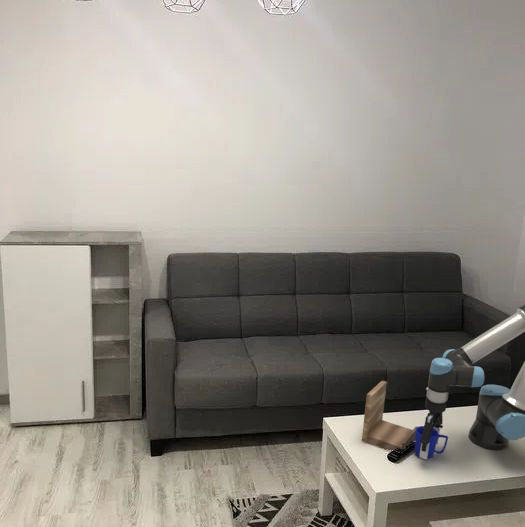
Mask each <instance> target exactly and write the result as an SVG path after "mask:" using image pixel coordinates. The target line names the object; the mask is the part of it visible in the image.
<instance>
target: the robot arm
mask: <svg viewBox="0 0 525 527" xmlns="http://www.w3.org/2000/svg"><path fill="white" fill-rule="evenodd" d="M523 333H525V304H523V305H521V306H519V307H518V308H517V309H516V312H515V313H513V314H512V315H510V316H509V317H507V318H506V319H504V320H502V321H501V322H500V323H498V324H496V325H494V326H493V327H491V328H489V329H488V330H486V331H485V332H483V333H482V334H480V335H479V336H476V338H475V337H474V339H472V340H470V341H469V342H467V343H466V344H465V345H463V346H461V347H459V348H457V349H454V348H453V349H447V350H445V352H444V353H443V355H442V357H435V358H434V359H432V361H431V363H430V368H429V375H428V384H427V387H426V388H425V390H426V397H425V403H424V408H425V409H426V410H427V411H428V413H427V415H426V416H425V422H424V425H423V426H424V428H423V432H422V436H421V440H419V441H420V443H421V449H420V456H418V457H419V458H420V459H423V460H428V459H427V456H428V449H429V440H430V437H431V434H432V430H433V429H435V430H436V431H437V432H438V434H441V433H440V431H441V429H443V427H444V425H443V418H444V416H443V413H444V412H446V409H447V403H448V398H449V391H450V387H464V388H465V387H466V388H480V387H481V388H480V391H479V393H478V394H479V395H478V402H477V409H476V416H475V420H474V421H473V424H472V425H471V427H470V429H469V430H468V439H469V440H470V441H471V442H472V443H473V444H475V445H477V446H479V447H480V448H484V449H488V450H492V451H493V450H495V451H498V450H499V451H500V450H504V449H507V447H508V446H509V440H510V441H516V440H520V439H523V438H525V361H524V362H523V364H522V366H521V368H520V369H519V372H518V373H517V375H516V378H515V380H514V381H513V384H512V386H511V388H508V387H506V386H503V385H497V384H486V385H484V384H485V383H484V382H485V372H484V370H483V368H482V367H480V366H477V365H476V366H475V365H474V366H473V364H475V363H476V362H478V361H479V360H481V359H483V358H484V357H486V356H487V355H489V354H491V353H492V352H494V351H496V350H497V349H499V348H501V347H502V346H505V344H507V343H509V342H510V341H512V340H514V339H515V338H517V337H519V336H520V335H522V334H523ZM439 438H440V437H439ZM439 438H438V440H437V442H436V445H438V444H439Z"/></svg>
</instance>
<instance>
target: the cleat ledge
mask: <svg viewBox="0 0 525 527" xmlns="http://www.w3.org/2000/svg"><path fill="white" fill-rule="evenodd" d="M417 427H418V426H415V427H414V428H413V429H411V428H408V427H405V426H402V425H398V424H395V423H393V422H390V421H387V420H384V419H382V421H381V422H380V423H379V424H378V425H377V426H376V427H375V428H374V429H373V430H372V431H371V432H370V433H369V434H368V435H367V441H366V442H365V443H366V444H369V445H373V446H375V447H377V446H378V448H381V449H383V448H384V450H386V449H388V450H387V451H389V450H391V451H390V452H392V450H395V449H397V448H400V449H405V448H406V446H407V445H408V444H409V443H410V442H411V441H414V442H415V430H416V428H417Z"/></svg>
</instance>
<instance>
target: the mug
mask: <svg viewBox="0 0 525 527" xmlns="http://www.w3.org/2000/svg"><path fill="white" fill-rule="evenodd" d="M423 428H424V425H421V426H417V428H416V430H415V441H414V454H415V455H416V456H417V457H419V456H420V449H421V443H420V441H419V440H421V436H422V432H423ZM438 438H443V439H445V442H444V445H443V448H442V449H441V450H439V451H437V450H436V445H437V444H436V442H437V440H438ZM448 439H449V436H448V435H444V434H441V433H439V434H438V432H437V431H436V430H435V429H433V430H432V434H431V437H430V440H429V449H428V456H427V460H428V459H431V458H432V457H433V456H434V453H435V454H437V455H441V454H443V453H444V451H445V450H446V447H447V445H448ZM438 441H439V440H438Z"/></svg>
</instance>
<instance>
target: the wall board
mask: <svg viewBox="0 0 525 527" xmlns="http://www.w3.org/2000/svg"><path fill="white" fill-rule="evenodd" d="M387 384H388V382H387V381H385V380H381V381H380V382H379V383H377V385H376V386H374V387H373V388H372V389H371V390H370V391H369V392H368V393H367V394H366V396H365V397H366V399H365V408H364V416H363V424H362V435H361V442H363V443H366V441H367V435H368V434H369V433H370V432H371V431H372V430H373V429H374V428H375V427H376V426H377V425H378V424H379V423H380V422H381V421H382V420H383V416H384V409H385V401H386V393H387V392H386V390H387Z"/></svg>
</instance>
